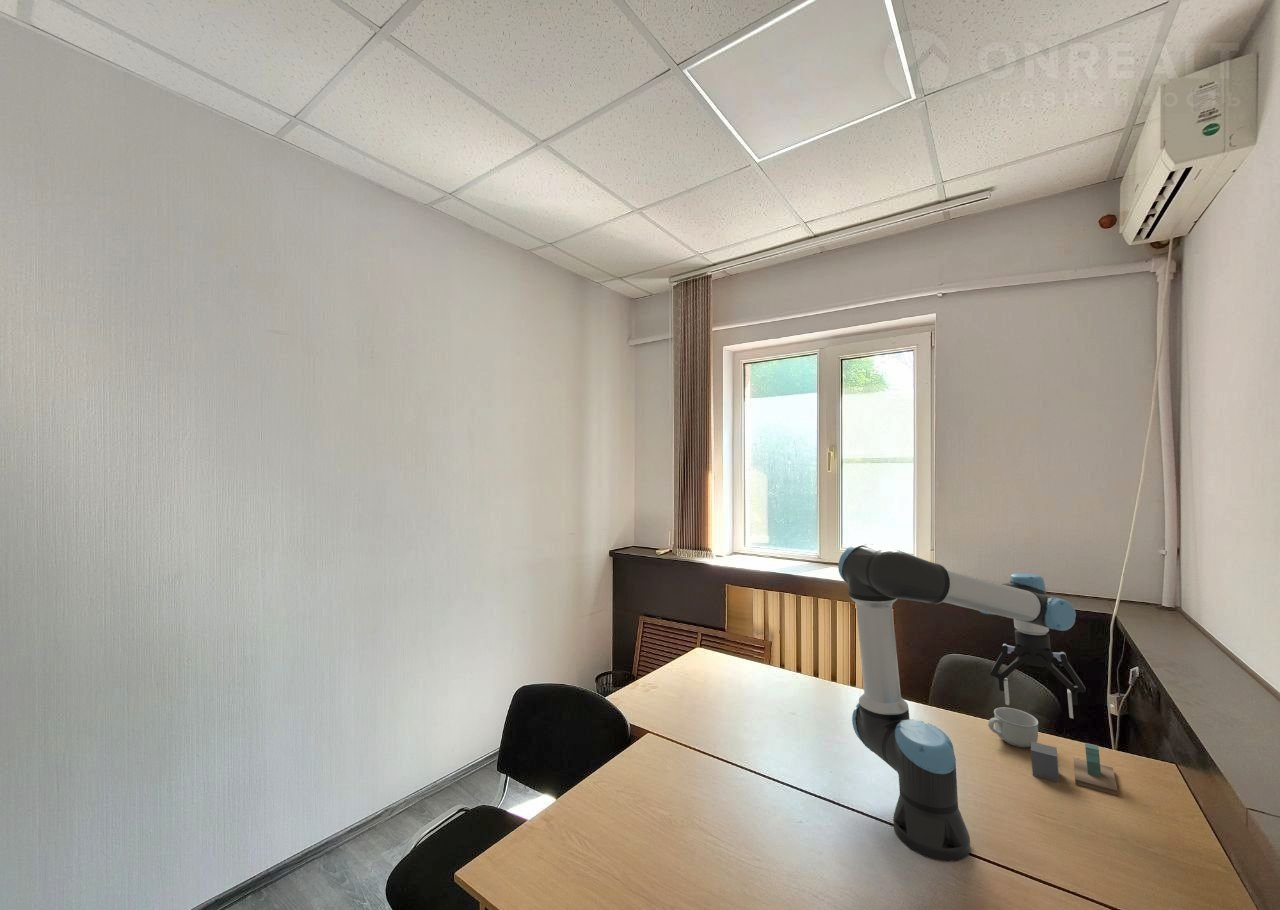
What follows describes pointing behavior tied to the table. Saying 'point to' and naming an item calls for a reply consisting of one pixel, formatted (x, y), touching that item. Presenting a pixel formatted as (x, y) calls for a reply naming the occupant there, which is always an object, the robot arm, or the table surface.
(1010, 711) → the teacup
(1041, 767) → the grey upright block
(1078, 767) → the stand
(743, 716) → the table surface
